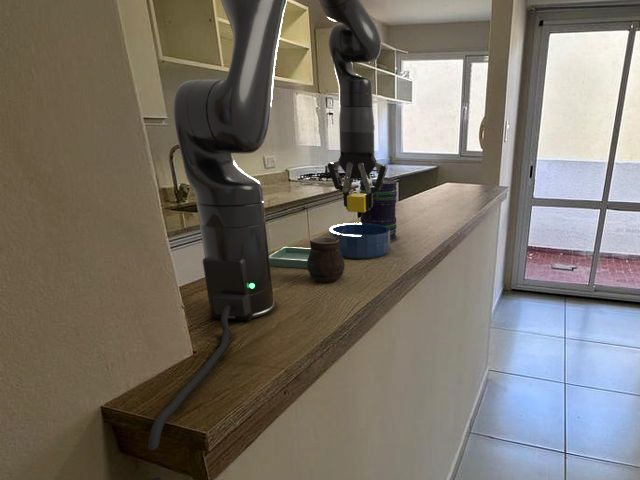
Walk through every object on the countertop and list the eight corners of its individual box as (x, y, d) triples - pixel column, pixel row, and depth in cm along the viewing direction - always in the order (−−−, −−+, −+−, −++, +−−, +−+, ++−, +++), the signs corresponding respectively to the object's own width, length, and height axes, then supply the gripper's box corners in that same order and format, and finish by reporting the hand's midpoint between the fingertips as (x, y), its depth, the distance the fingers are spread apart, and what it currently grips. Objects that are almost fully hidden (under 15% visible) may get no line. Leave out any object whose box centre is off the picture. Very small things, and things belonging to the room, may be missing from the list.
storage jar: (368, 232, 128) (367, 166, 121) (401, 235, 126) (402, 168, 119) (354, 239, 120) (352, 169, 113) (389, 243, 117) (389, 171, 110)
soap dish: (315, 269, 94) (315, 261, 94) (266, 265, 95) (265, 257, 95) (330, 256, 103) (330, 249, 103) (285, 253, 104) (284, 246, 104)
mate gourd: (305, 275, 90) (301, 225, 86) (342, 272, 93) (340, 224, 89) (310, 286, 84) (307, 234, 80) (350, 283, 86) (348, 232, 82)
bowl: (383, 261, 101) (383, 237, 99) (322, 257, 102) (321, 233, 100) (394, 246, 114) (394, 225, 112) (340, 243, 115) (339, 221, 113)
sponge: (364, 212, 102) (364, 196, 101) (347, 211, 102) (346, 196, 101) (369, 208, 106) (369, 193, 105) (353, 208, 107) (352, 193, 106)
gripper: (319, 129, 95) (324, 210, 102) (385, 131, 93) (385, 214, 100) (330, 129, 102) (334, 205, 108) (391, 131, 100) (391, 208, 107)
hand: (358, 209), depth 104 cm, fingers closed on sponge, 4 cm apart
